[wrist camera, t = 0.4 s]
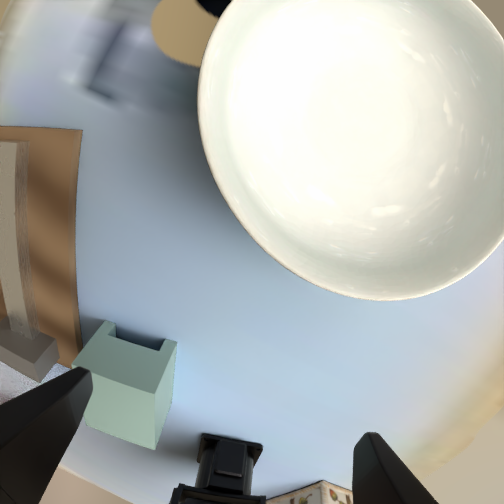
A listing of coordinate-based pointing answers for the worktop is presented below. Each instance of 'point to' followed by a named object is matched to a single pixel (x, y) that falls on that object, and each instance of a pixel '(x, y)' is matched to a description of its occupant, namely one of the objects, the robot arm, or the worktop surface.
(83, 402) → the robot arm
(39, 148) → the mounting board
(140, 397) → the block
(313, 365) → the worktop surface
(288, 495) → the decorative jar
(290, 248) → the cereal bowl
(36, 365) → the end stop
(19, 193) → the metal rail
